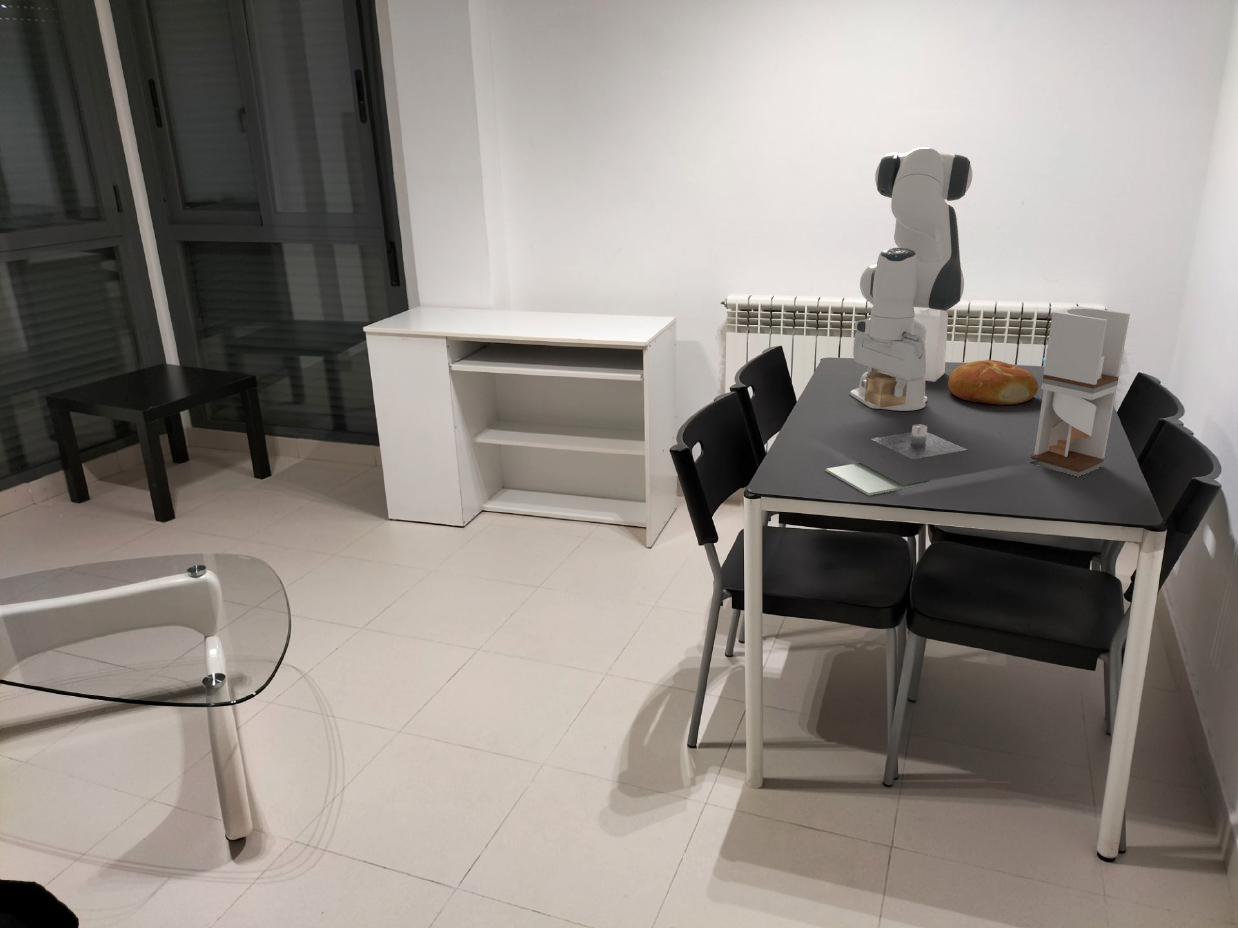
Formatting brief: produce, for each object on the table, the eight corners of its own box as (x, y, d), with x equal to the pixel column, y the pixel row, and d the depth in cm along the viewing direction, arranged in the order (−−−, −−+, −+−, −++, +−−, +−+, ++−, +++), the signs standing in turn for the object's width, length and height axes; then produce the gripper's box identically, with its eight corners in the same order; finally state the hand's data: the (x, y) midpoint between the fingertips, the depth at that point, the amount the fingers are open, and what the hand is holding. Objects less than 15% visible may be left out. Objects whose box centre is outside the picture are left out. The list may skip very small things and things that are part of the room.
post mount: (869, 444, 225) (871, 421, 223) (922, 436, 231) (925, 413, 229) (911, 465, 211) (914, 440, 209) (967, 455, 217) (970, 431, 215)
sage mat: (825, 471, 209) (825, 468, 209) (883, 461, 214) (884, 458, 214) (868, 495, 195) (868, 492, 195) (929, 484, 200) (930, 481, 200)
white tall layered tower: (1030, 463, 212) (1052, 312, 199) (1054, 453, 218) (1077, 306, 205) (1078, 477, 203) (1105, 320, 191) (1102, 466, 209) (1130, 313, 197)
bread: (1018, 414, 247) (1023, 378, 243) (934, 399, 261) (937, 365, 258) (1046, 395, 263) (1051, 361, 260) (965, 382, 278) (969, 350, 274)
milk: (944, 373, 287) (953, 289, 278) (934, 381, 278) (944, 295, 269) (905, 368, 293) (913, 286, 284) (895, 376, 284) (903, 292, 275)
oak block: (864, 400, 200) (866, 373, 198) (887, 397, 202) (889, 371, 200) (881, 407, 195) (884, 380, 193) (905, 404, 197) (907, 377, 195)
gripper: (936, 336, 185) (929, 402, 190) (874, 318, 203) (869, 379, 208) (911, 339, 183) (904, 405, 188) (850, 321, 201) (845, 382, 206)
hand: (885, 391), depth 198 cm, fingers closed on oak block, 6 cm apart
